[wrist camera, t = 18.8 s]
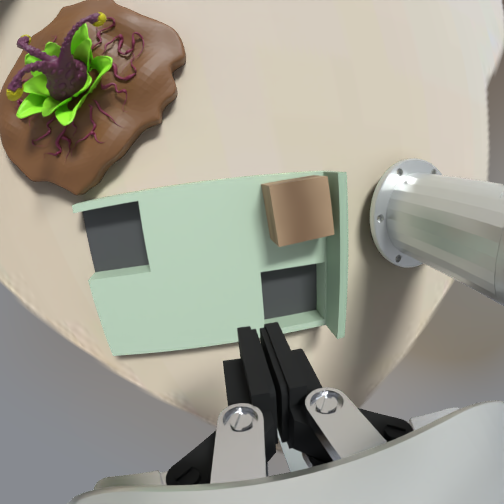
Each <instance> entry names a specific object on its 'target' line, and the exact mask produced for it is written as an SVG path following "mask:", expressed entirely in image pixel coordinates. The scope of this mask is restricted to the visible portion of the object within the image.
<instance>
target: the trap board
mask: <svg viewBox="0 0 504 504" xmlns="http://www.w3.org/2000/svg"><path fill="white" fill-rule="evenodd" d="M311 175H319V176H328V183H329V190H330V198H331V207H332V215H333V225H334V235H331V236H326V237H322V238H317V239H313V240H308V241H304V242H300V243H295V244H291V245H286V246H282V247H278V246H277V245H276V244H275V243H274V242H273V241H272V240H271V239H270V234H269V228H268V222H267V216H266V210H265V204H264V198H263V193H262V187H261V184H264V183H269V182H275V181H281V180H286V179H292V178H299V177H305V176H311ZM72 207H73V213H77V212H81V211H83V216H84V221H85V227H86V232H87V237H88V242H89V247H90V251H91V256H92V260H93V264H94V268H95V273H94V274H93V276H92V277H91V278H90V279H89V280H88V281H89V285H90V288H91V292H92V295H93V299H94V302H95V305H96V309H97V312H98V315H99V318H100V321H101V324H102V327H103V330H104V333H105V335H106V338H107V341H108V344H109V346H110V349H111V352H112V354H113V356H117V355H132V354H144V353H155V352H165V351H174V350H183V349H191V348H199V347H206V346H214V345H220V344H227V343H234V342H239V341H238V333H237V328H239V327H247V326H250V327H251V329H256V330H257V334H258V337H259V338H260V328H264V324H267V323H274V322H278V323H279V326H280V328H281V330H282V332H283V334H284V333H289V332H294V331H299V330H304V329H309V328H313V327H318V326H322V325H327V327H328V328H329V329H330V330H331V332H332V333H333V334H334V335H335V337H336V338H337V339H338V338H342V337H344V334H345V321H346V304H347V281H348V198H347V175H346V172H334V171H308V172H292V173H278V174H266V175H255V176H244V177H235V178H226V179H217V180H209V181H201V182H193V183H186V184H179V185H172V186H165V187H159V188H153V189H147V190H141V191H135V192H129V193H124V194H118V195H113V196H108V197H103V198H98V199H93V200H88V201H84V202H80V203H77V204H74V205H72Z"/></svg>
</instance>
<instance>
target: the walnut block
mask: <svg viewBox="0 0 504 504" xmlns="http://www.w3.org/2000/svg"><path fill="white" fill-rule="evenodd" d="M261 187H262V193H263V198H264V204H265V210H266V216H267V222H268V228H269V234H270V239H271V240H272V241H273V242H274V243H275V244H276V245H277V246H278V247H282V246H286V245H291V244H295V243H300V242H304V241H308V240H313V239H317V238H322V237H326V236H331V235H334V225H333V215H332V207H331V198H330V190H329V183H328V176H319V175H311V176H305V177H299V178H292V179H286V180H281V181H275V182H269V183H264V184H261Z"/></svg>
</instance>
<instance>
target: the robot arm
mask: <svg viewBox="0 0 504 504" xmlns="http://www.w3.org/2000/svg"><path fill="white" fill-rule="evenodd" d="M370 227H371V233H372V237H373V240H374V243H375V245H376V247H377V249H378V251H379V252H380V253H381V254H382V256H383V257H384V258H386V259H387V260H388V261H389V262H391V263H393V264H395V265H397V266H400V267H403V268H412V267H416V266H419V265H421V264H423V263H424V264H426V265H428V266H430V267H432V268H434V269H436V270H438V271H440V272H442V273H444V274H445V275H447V276H449V277H451V278H453V279H455V280H457V281H459V282H461V283H463V284H465V285H466V286H469V287H470V288H472V289H474V290H476V291H478V292H479V293H481V294H483V295H485V296H487V297H488V298H490V299H492V300H494V301H495V302H497V303H499V304H501V305H503V306H504V184H499V183H493V182H487V181H481V180H475V179H468V178H461V177H453V176H445V175H442V174H441V173H440V172H439V170H438V169H437V168H436V167H435V166H433V165H432V164H431V163H429V162H427V161H425V160H421V159H405V160H401V161H399V162H397V163H395V164H393V165H392V166H391V167H390V168H389V169H388V170H387V171H386V172H385V173H384V174H383V176H382V177H381V178H380V180H379V182H378V184H377V186H376V188H375V191H374V194H373V197H372V202H371V207H370ZM237 333H238V341H239V349H240V357H241V359H234V360H226V361H223V366H224V375H225V384H226V392H227V400H228V407H226V408H225V409H223V410H222V412H221V413H220V414H219V417H218V421H217V429H216V431H215V432H214V433H213V434H211V435H210V436H209V437H208V438H207V439H205V440H204V441H203V442H202V443H201V444H199V446H197V447H196V448H195V449H194V450H192V451H191V452H190V453H189V454H187V455H186V456H185V457H184V458H182V459H181V460H180V461H179V462H177V463H176V464H175V465H173V466H172V467H171V469H169V471H167V472H162V473H160V472H159V471H152V472H146V473H140V474H133V475H124V476H115V477H107V478H104V479H102V480H100V481H98V482H97V484H96V485H95V487H94V490H92V491H88V492H85V493H82V494H80V495H77V496H75V497H74V498H72V499H71V500H70V501H69V502H68V504H504V402H503V401H485V402H480V403H476V404H472V405H469V406H466V407H463V408H456V407H455V408H449V409H445V410H441V411H438V412H434V413H430V414H427V415H422V416H418V417H414V418H411V419H410V420H409V421H408V422H406V421H404V420H402V419H398V418H394V417H390V416H386V415H382V414H378V413H374V412H370V411H367V410H363V409H359V408H357V407H356V406H355V405H354V404H353V403H352V401H351V400H350V399H349V398H348V397H347V396H346V395H345V394H344V393H343V392H342V391H340V390H338V389H335V388H330V387H327V388H322V386H321V384H320V382H319V380H318V378H317V376H316V374H315V372H314V370H313V368H312V366H311V365H310V363H309V361H308V359H307V357H306V355H305V353H304V351H303V350H302V349H297V350H291V349H290V347H289V345H288V343H287V341H286V339H285V336H284V334H283V332H282V330H281V328H280V326H279V323H278V322H274V323H267V324H264V328H260V340H259V337H258V334H257V330H256V329H251V327H250V326H247V327H239V328H237ZM260 341H261V343H260ZM277 428H278V431H277ZM278 432H279V435H280V438H281V442H282V443H284V442H287V444H288V447H289V449H291V448H293V449H295V450H297V451H300V452H302V456H303V459H304V461H305V462H306V464H307V466H308V467H309V468H306V469H302V470H298V471H293V472H289V473H284V474H279V475H274V476H268V463H267V462H268V461H269V460H270V459H271V457H272V456H273V455H274V454H275V453H276V445H275V444H278Z"/></svg>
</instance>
